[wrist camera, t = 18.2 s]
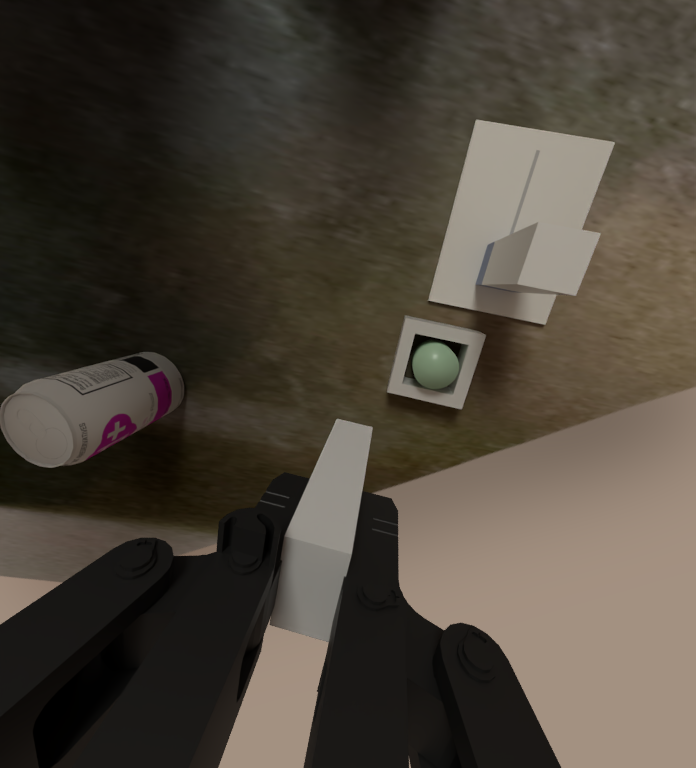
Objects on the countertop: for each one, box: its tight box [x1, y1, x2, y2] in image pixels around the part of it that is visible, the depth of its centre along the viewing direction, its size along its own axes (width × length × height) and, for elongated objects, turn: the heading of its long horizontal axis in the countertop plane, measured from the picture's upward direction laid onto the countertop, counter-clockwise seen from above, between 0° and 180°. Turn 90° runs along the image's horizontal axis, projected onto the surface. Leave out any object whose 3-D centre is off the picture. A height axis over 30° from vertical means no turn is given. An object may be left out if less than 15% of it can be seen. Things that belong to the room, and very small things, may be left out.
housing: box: [387, 315, 486, 409], centre depth 35 cm, size 8×8×3 cm
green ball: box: [411, 340, 459, 389], centre depth 34 cm, size 4×4×4 cm
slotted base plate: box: [428, 120, 615, 325], centre depth 31 cm, size 16×12×1 cm
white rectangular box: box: [475, 222, 601, 296], centre depth 27 cm, size 4×4×12 cm
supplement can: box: [0, 352, 184, 468], centre depth 35 cm, size 8×8×15 cm
